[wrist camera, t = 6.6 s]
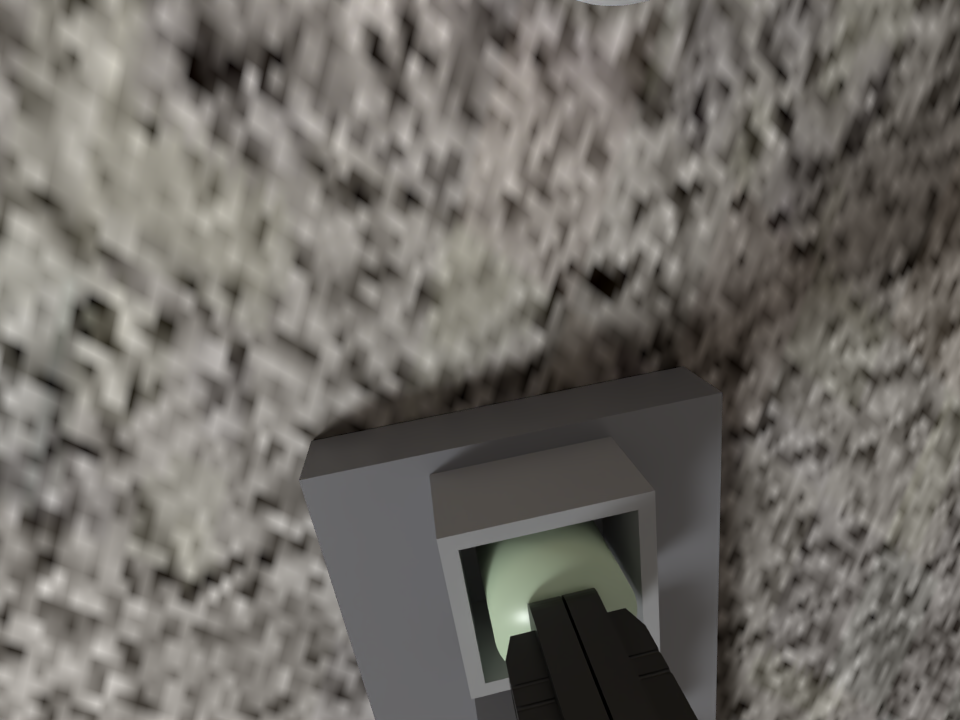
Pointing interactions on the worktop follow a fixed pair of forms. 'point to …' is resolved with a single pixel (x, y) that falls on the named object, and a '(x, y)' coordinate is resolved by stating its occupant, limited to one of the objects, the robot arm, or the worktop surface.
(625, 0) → the supplement bottle
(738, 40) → the worktop surface
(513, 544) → the sage button
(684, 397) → the grey boxy piece
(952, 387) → the worktop surface
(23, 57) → the worktop surface
